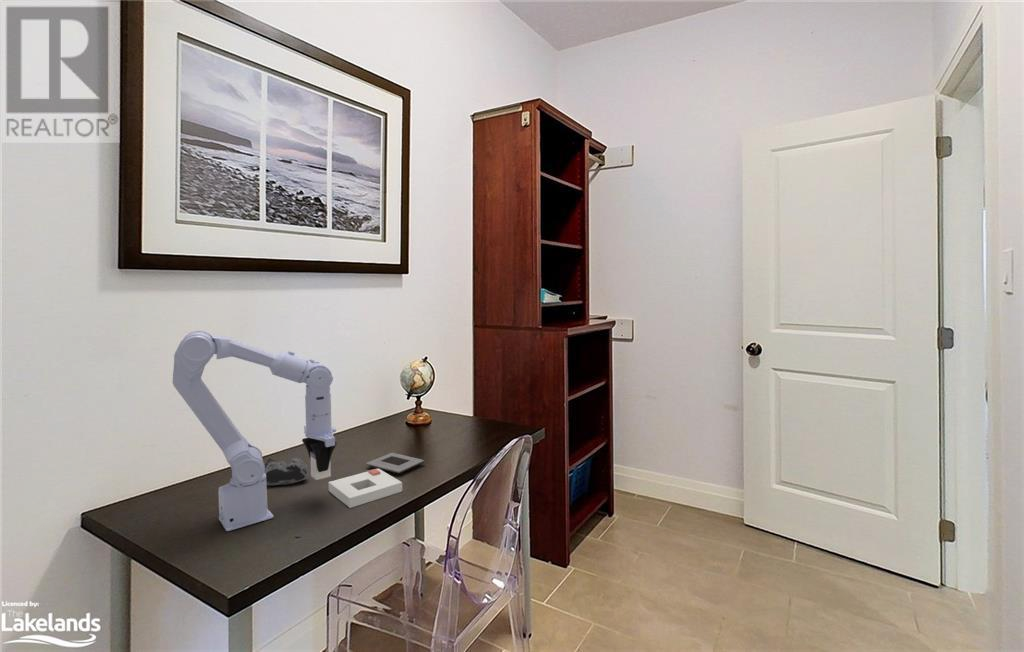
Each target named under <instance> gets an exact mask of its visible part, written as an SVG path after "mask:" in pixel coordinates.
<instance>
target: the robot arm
mask: <svg viewBox="0 0 1024 652" xmlns="http://www.w3.org/2000/svg"><path fill="white" fill-rule="evenodd" d="M214 355H216V360H221V359H225V358H236V359H239V360H242V361H246V362H249V363H253V364H257V365H260V366H263V367H267V368H269V370H270V373H271V374H272V375H274V376H276V377H279V378H283V379H285V380H288V381H291V382H295V383H298V384H302V383H304V384H305V396H304V397H305V398H304V400H305V401H304V402H305V403H304V406H305V425H304V426H303V428H304V430H303V431H304V434H305V435H304V436H305V438H302V440H301V441H302V443H303V444H304V447H305V448H306V450H307V454H308V457H309V461H310V463H311V456H310V452H311V451H313V452H314V454H315V458H316V464H317V469H318V472H322V471H326V470H328V467H329V463H330V460H331V458H332V456H333V455H332V454H333V452H334V450H335V448H336V446H337V444H338V443H337V441H336V438H335V436H334V433H337V428H335V427H332V396H331V395H332V394H331V385H332V384H333V381H334V376H333V374H332V371H331V370H330V369H329V368H328V367H327V366H326V365H324V364H322V363H320V362H319V361H315V359H312V358H310V359H306V358H304V357H300V356H298V355H295V352H294V351H291V350H288V351H284V350H283V351H280V352H278V353H272V352H269V351H267V350H264V349H261V348H258V347H255V346H253V345H250V344H248V343H244V342H242V341H239V340H236V339H234V338H231V337H227V336H223V335H219V334H214V333H213V334H211V333H208V332H206V331H205V330H204V331H203V330H195V331H191V332H189V333H187V334H186V335H185V336H184V337H183V339H182V340H181V341H180V343H179V345H178V346H177V348H176V351H174V354H173V371H172V372H173V373H172V384H173V387H174V388H175V390H176V391H177V392H178V393H179V395H180V396H181V398H182V399H183V400H184V402H185V403H186V405H187V406H188V407H189V409H191V411H192V412H193V414H194V415H195V417H197V419H198V421H200V423H201V425H202V426H203V427H204V429H205V430H206V431H207V433H208V434H209V435H210V437H211V438H212V440H214V442H215V444H217V446H218V448H219V449H220V450H221V452H222V453H223V455H224V457H225V460H226V461H227V463H228V465H229V466H230V467H231V468H230V469H231V476H232V477H231V478H230V479H229V482H228V483H226V484H224V485H221V486H219V487H218V513H219V514H218V516H219V517H218V520H219V521H220V523H221V525H222V527H223V528H224V530H225V532H232V531H234V530H237V529H240V528H243V527H247V526H250V525H254V524H256V523H257V524H258V523H260V522H263V521H267V520H270V519H273V518H274V514H273V513H272V512H271V511H270V509H268V495H267V494H268V489H267V488H268V487H267V486H268V485H267V483H266V474H265V473H264V471H265V462H264V460H263V453H262V452H261V451H262V450H261V449H259V448H258V447H257V446H255V445H252V443H250V442H249V440H248V439H247V438H246V437H244V436H243V434H241V432H240V431H239V430H238V428H237V427H236V425H235V424H234V423H233V421H232V419H231V418H230V416H228V414H227V413H226V411H225V410H224V409H223V407H222V406H221V404H220V403H219V402H218V400H217V399H216V398H215V396H214V395H213V393H212V392H211V391H210V389H209V387H207V385H206V384H205V382H204V381H203V379H202V377H203V373H204V370H205V367H206V366H207V365H208V363H210V361H211V359H213V357H214Z"/></svg>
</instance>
